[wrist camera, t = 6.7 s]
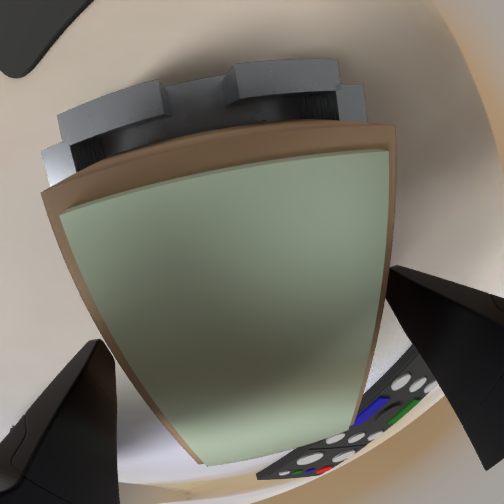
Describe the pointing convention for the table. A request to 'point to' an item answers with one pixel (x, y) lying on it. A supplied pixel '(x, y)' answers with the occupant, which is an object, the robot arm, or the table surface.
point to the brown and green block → (238, 276)
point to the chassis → (201, 109)
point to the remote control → (361, 420)
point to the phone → (32, 31)
